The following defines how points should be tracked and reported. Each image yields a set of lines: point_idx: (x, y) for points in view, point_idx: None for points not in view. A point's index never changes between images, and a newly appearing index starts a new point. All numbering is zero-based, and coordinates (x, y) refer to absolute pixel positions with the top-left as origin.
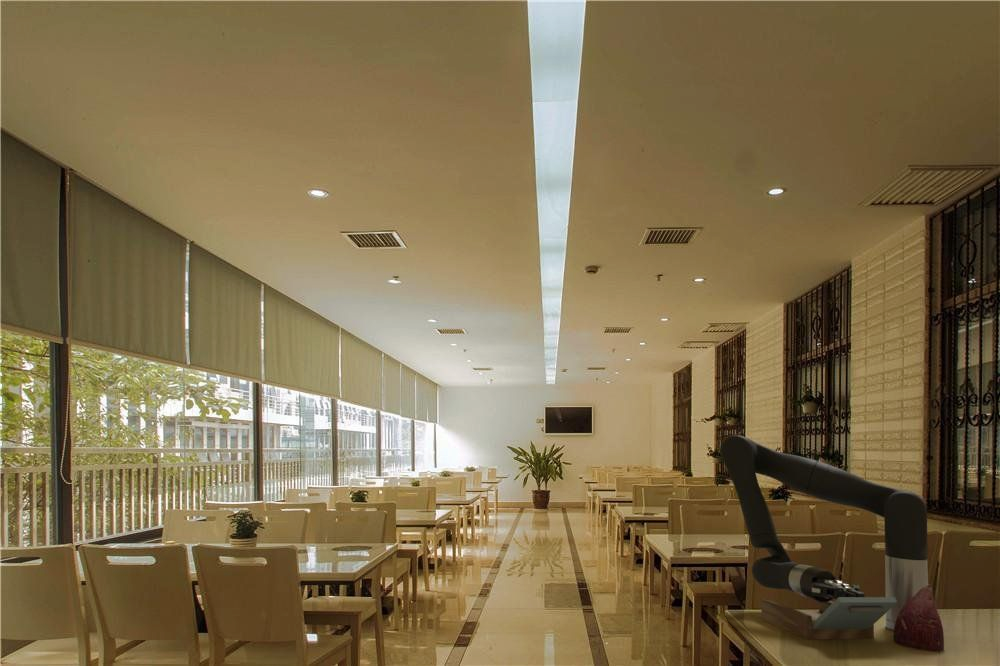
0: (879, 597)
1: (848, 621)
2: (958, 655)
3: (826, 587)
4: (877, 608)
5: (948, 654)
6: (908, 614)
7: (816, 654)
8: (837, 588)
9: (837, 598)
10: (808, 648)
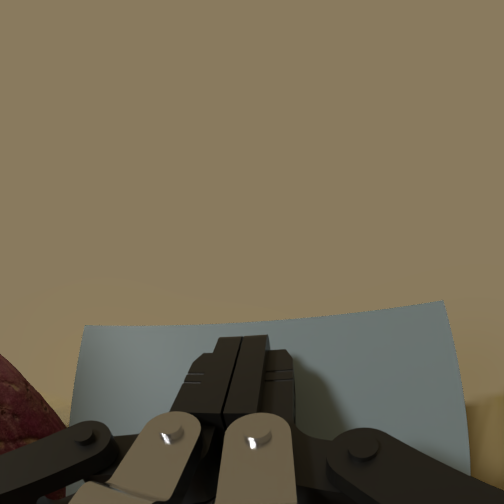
0: (167, 326)
1: None
2: (59, 409)
3: (472, 485)
4: None
5: (68, 418)
6: (19, 408)
7: (489, 417)
8: (365, 430)
9: (445, 311)
10: (500, 466)
